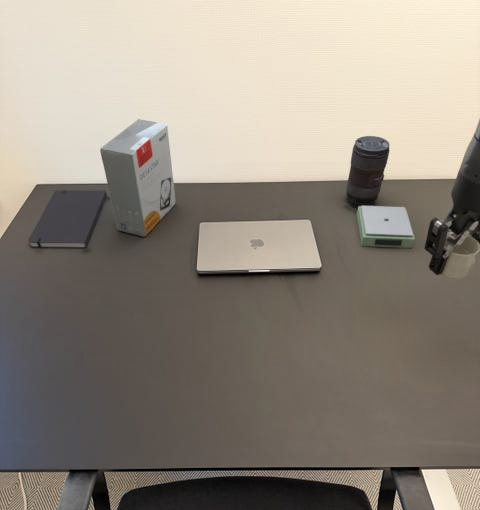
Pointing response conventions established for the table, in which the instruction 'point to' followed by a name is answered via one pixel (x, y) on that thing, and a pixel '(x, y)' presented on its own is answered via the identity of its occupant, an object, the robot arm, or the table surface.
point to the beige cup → (461, 258)
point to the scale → (385, 227)
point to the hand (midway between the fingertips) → (451, 265)
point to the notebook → (68, 219)
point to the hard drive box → (139, 176)
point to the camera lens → (367, 170)
